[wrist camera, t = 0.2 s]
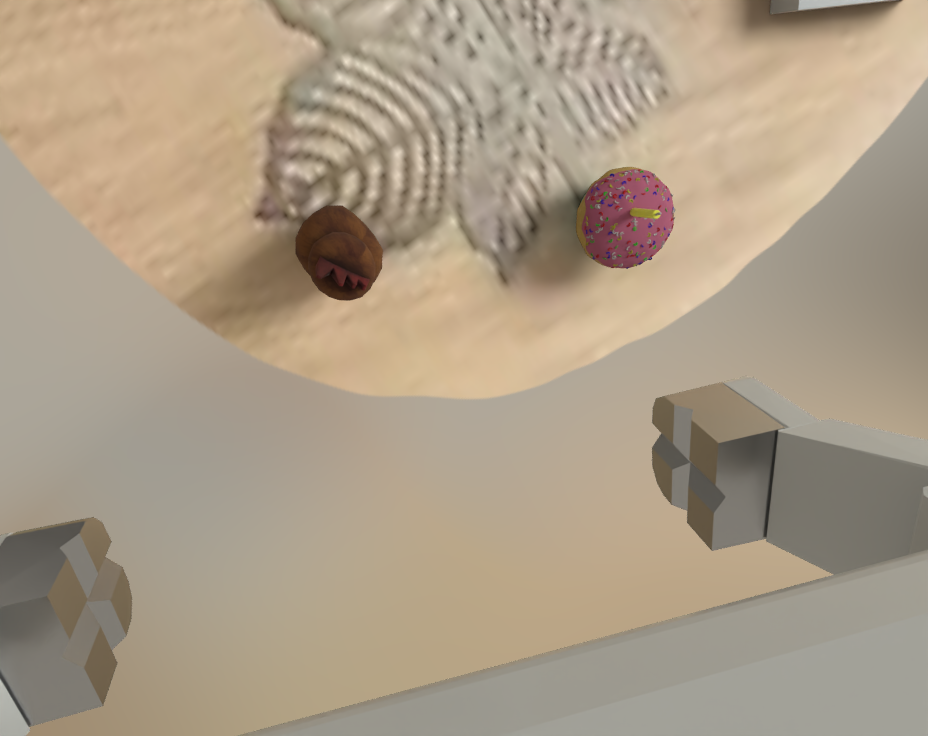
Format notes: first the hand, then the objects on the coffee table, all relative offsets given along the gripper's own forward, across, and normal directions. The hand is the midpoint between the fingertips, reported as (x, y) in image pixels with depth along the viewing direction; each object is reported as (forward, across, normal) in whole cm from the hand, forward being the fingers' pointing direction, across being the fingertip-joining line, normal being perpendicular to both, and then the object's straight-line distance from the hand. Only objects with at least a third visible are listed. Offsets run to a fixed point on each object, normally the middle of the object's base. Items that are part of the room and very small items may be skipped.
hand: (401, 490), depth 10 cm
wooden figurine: (+48, 0, +7) cm, 48 cm away
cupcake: (+48, -24, +8) cm, 54 cm away
